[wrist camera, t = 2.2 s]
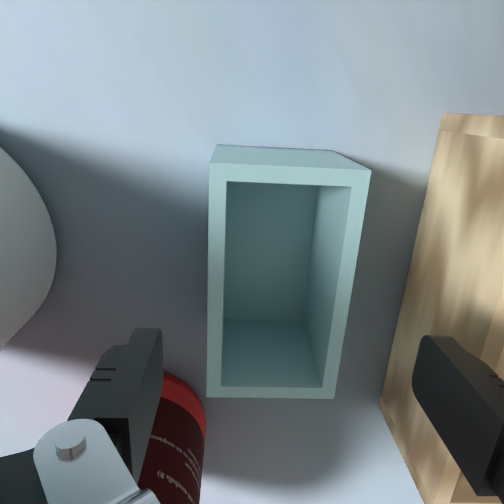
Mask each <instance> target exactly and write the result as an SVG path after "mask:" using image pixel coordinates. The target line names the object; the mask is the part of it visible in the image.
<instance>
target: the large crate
mask: <svg viewBox="0 0 504 504" xmlns="http://www.w3.org/2000/svg"><path fill="white" fill-rule="evenodd" d="M425 335H443V336H451V337H453V338H454V339H455V340H456V341H457V342H458V343H459V344H460V345H461V346H462V348H463V349H464V350H465V351H466V352H469V353H471V354H472V355H474V356H476V357H477V358H479V359H480V360H482V361H483V362H485V363H486V364H487V365H488V366H489V367H490V368H491V369H492V370H493V371H494V372H495V373H496V374H497V375H498V378H501V379H502V380H503V381H504V116H498V115H477V114H455V113H443V116H442V121H441V126H440V130H439V135H438V139H437V144H436V148H435V153H434V157H433V162H432V167H431V171H430V176H429V180H428V185H427V189H426V194H425V198H424V203H423V208H422V212H421V217H420V221H419V226H418V230H417V235H416V239H415V244H414V249H413V253H412V258H411V262H410V267H409V271H408V276H407V280H406V285H405V290H404V294H403V299H402V303H401V308H400V312H399V317H398V321H397V326H396V331H395V335H394V340H393V344H392V349H391V353H390V358H389V362H388V367H387V372H386V376H385V381H384V385H383V390H382V394H381V399H380V403H379V408H380V410H381V412H382V414H383V417H384V419H385V421H386V423H387V425H388V427H389V429H390V431H391V434H392V436H393V438H394V440H395V442H396V444H397V446H398V448H399V451H400V453H401V455H402V457H403V459H404V461H405V463H406V466H407V468H408V470H409V472H410V474H411V476H412V478H413V480H414V483H415V485H416V487H417V489H418V491H419V493H420V495H421V497H422V500H423V502H424V504H501V503H502V502H501V501H500V499H499V498H498V496H477V495H476V494H475V492H474V491H473V489H472V487H471V486H470V484H469V483H468V481H467V479H466V478H465V476H464V475H463V473H462V471H461V470H460V468H459V467H458V465H457V463H456V462H455V460H454V459H453V457H452V455H451V454H450V452H449V451H448V449H447V447H446V446H445V444H444V443H443V441H442V439H441V438H440V436H439V435H438V433H437V431H436V430H435V428H434V427H433V425H432V423H431V422H430V420H429V419H428V417H427V415H426V414H425V412H424V411H423V409H422V407H421V406H420V404H419V403H418V401H417V399H416V398H415V396H414V393H413V390H412V374H413V369H414V365H415V361H416V357H417V353H418V349H419V344H420V341H421V339H422V337H423V336H425Z"/></svg>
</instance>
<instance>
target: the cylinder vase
mask: <svg viewBox="0 0 504 504" xmlns="http://www.w3.org/2000/svg"><path fill="white" fill-rule="evenodd" d="M56 260H57V249H56V239H55V233H54V229H53V225H52V222H51V218H50V216H49V213H48V210H47V208H46V206H45V204H44V202H43V200H42V198H41V196H40V194H39V192H38V191H37V189H36V187H35V186H34V184H33V183H32V181H31V180H30V179H29V177H28V176H27V175H26V173H25V172H24V171H23V170H22V168H21V167H20V166H19V165H18V164H17V163H16V162H15V161H14V160H13V159H12V158H11V157H10V156H9V155H8V154H7V153H6V152H5V151H4V150H3V149H2V148H1V147H0V350H1V349H2V348H3V347H4V346H5V345H6V344H7V343H8V341H9V340H10V339H11V338H12V337H13V336H14V335H15V334H16V333H17V332H18V331H19V330H20V329H21V328H22V327H23V326H24V325H25V324H26V323H27V322H28V321H29V319H30V318H31V317H32V316H33V315H34V314H35V313H36V312H37V310H38V309H39V308H40V307H41V305H42V304H43V302H44V300H45V299H46V297H47V295H48V293H49V290H50V288H51V285H52V282H53V279H54V275H55V270H56Z"/></svg>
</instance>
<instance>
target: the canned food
mask: <svg viewBox="0 0 504 504" xmlns="http://www.w3.org/2000/svg"><path fill="white" fill-rule="evenodd" d="M205 432H206V419H205V415H204V411H203V408H202V404H201V402H200V400H199V398H198V396H197V394H196V393H195V392H194V391H193V389H192V388H191V387H190V386H189V385H187V384H186V383H185V382H184V381H182V380H180V379H179V378H177V377H175V376H173V375H170V374H167V373H164V372H163V386H162V392H161V396H160V400H159V404H158V408H157V411H156V415H155V419H154V423H153V427H152V431H151V434H150V438H149V442H148V446H147V450H146V454H145V458H144V461H143V465H142V469H141V473H140V477H139V481H138V484H137V486H138V488H139V489H140V490H141V491H142V490H144V489H145V488H149V489H150V490H151V491H152V492H153V493H154V494H155V496H156V497H157V499H158V501H159V502H160V504H199V500H200V489H201V477H202V466H203V454H204V443H205Z"/></svg>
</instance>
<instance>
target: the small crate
mask: <svg viewBox="0 0 504 504" xmlns="http://www.w3.org/2000/svg"><path fill="white" fill-rule="evenodd" d="M371 171H372V170H370V169H368V168H366V167H364V166H362V165H360V164H358V163H356V162H354V161H352V160H350V159H348V158H346V157H344V156H342V155H340V154H338V153H336V152H334V151H332V150H315V149H295V148H275V147H255V146H235V145H217V146H216V148H215V151H214V153H213V155H212V157H211V159H210V162H209V213H208V302H207V390H206V397H216V398H291V399H334V396H335V390H336V384H337V378H338V372H339V366H340V360H341V354H342V348H343V341H344V335H345V329H346V323H347V317H348V311H349V305H350V299H351V293H352V287H353V280H354V274H355V268H356V262H357V256H358V250H359V244H360V238H361V232H362V226H363V220H364V213H365V207H366V201H367V195H368V189H369V183H370V177H371Z"/></svg>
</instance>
